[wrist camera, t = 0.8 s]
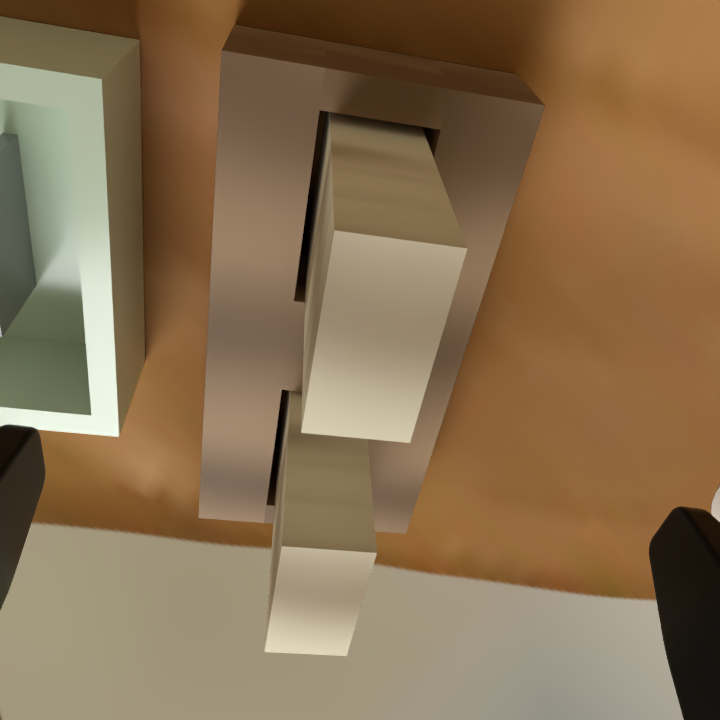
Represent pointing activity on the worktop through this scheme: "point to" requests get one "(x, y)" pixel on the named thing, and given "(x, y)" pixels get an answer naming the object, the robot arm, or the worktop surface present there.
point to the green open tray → (70, 228)
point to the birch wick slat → (375, 279)
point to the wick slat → (318, 539)
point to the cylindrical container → (716, 505)
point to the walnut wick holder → (288, 267)
